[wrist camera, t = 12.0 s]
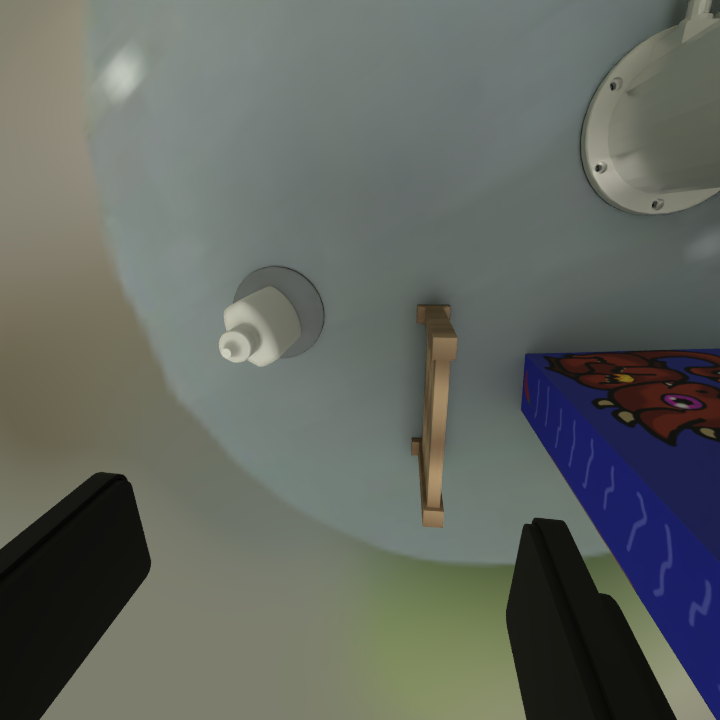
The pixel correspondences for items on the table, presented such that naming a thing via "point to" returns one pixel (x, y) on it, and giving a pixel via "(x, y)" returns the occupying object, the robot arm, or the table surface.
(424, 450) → the brown piece
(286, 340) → the eye dropper bottle
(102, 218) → the table surface
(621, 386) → the cereal box
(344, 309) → the table surface
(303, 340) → the coaster
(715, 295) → the table surface
